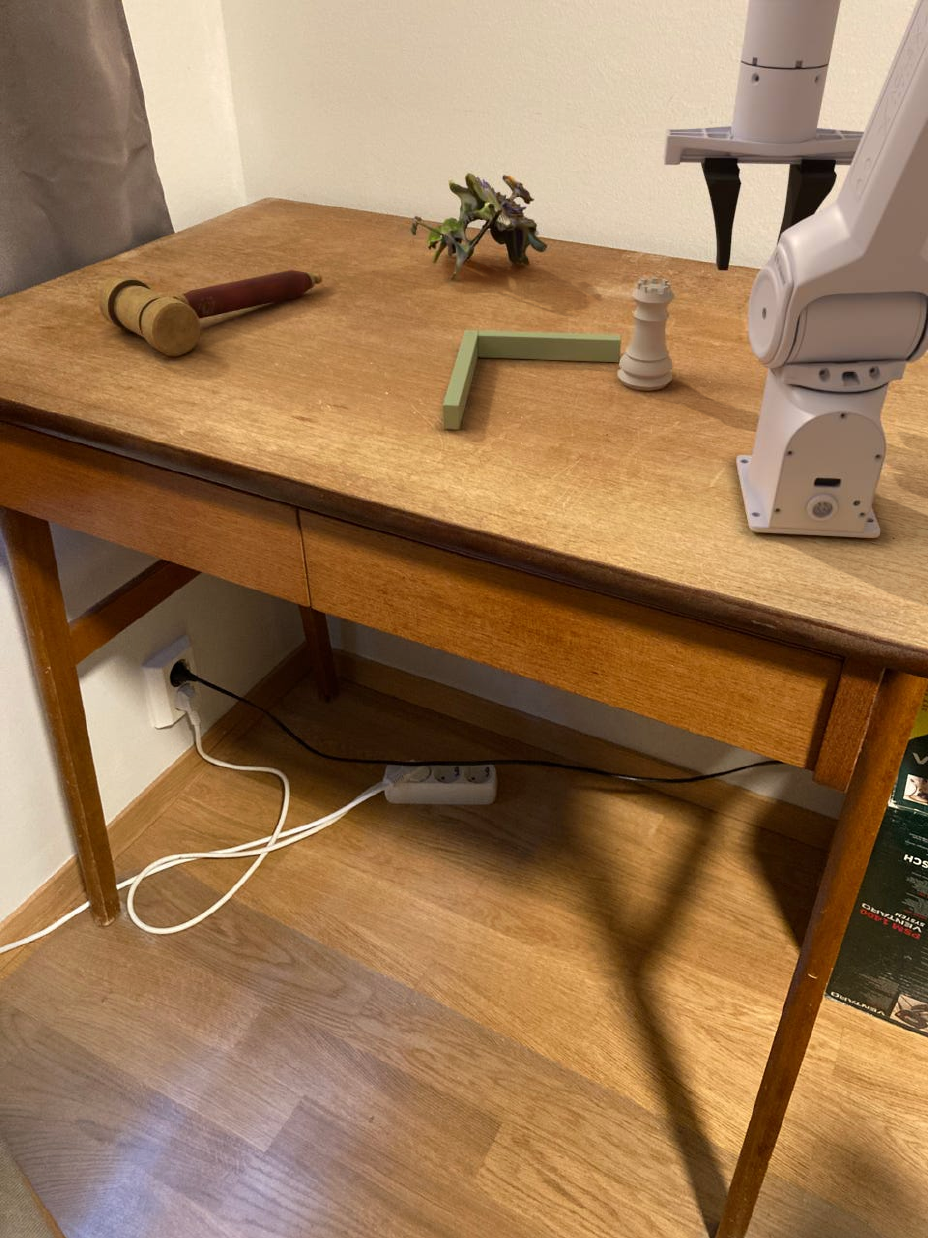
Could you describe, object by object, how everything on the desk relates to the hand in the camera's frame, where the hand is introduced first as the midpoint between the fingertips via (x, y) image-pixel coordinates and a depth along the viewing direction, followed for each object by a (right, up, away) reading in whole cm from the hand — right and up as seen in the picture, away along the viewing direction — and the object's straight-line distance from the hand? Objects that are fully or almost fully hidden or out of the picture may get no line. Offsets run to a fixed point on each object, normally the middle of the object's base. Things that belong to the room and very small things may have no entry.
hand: (750, 266), depth 75 cm
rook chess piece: (-7, -7, +7) cm, 12 cm away
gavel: (-43, +2, +19) cm, 47 cm away
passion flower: (-20, +9, +28) cm, 35 cm away
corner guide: (-16, -8, +5) cm, 18 cm away
